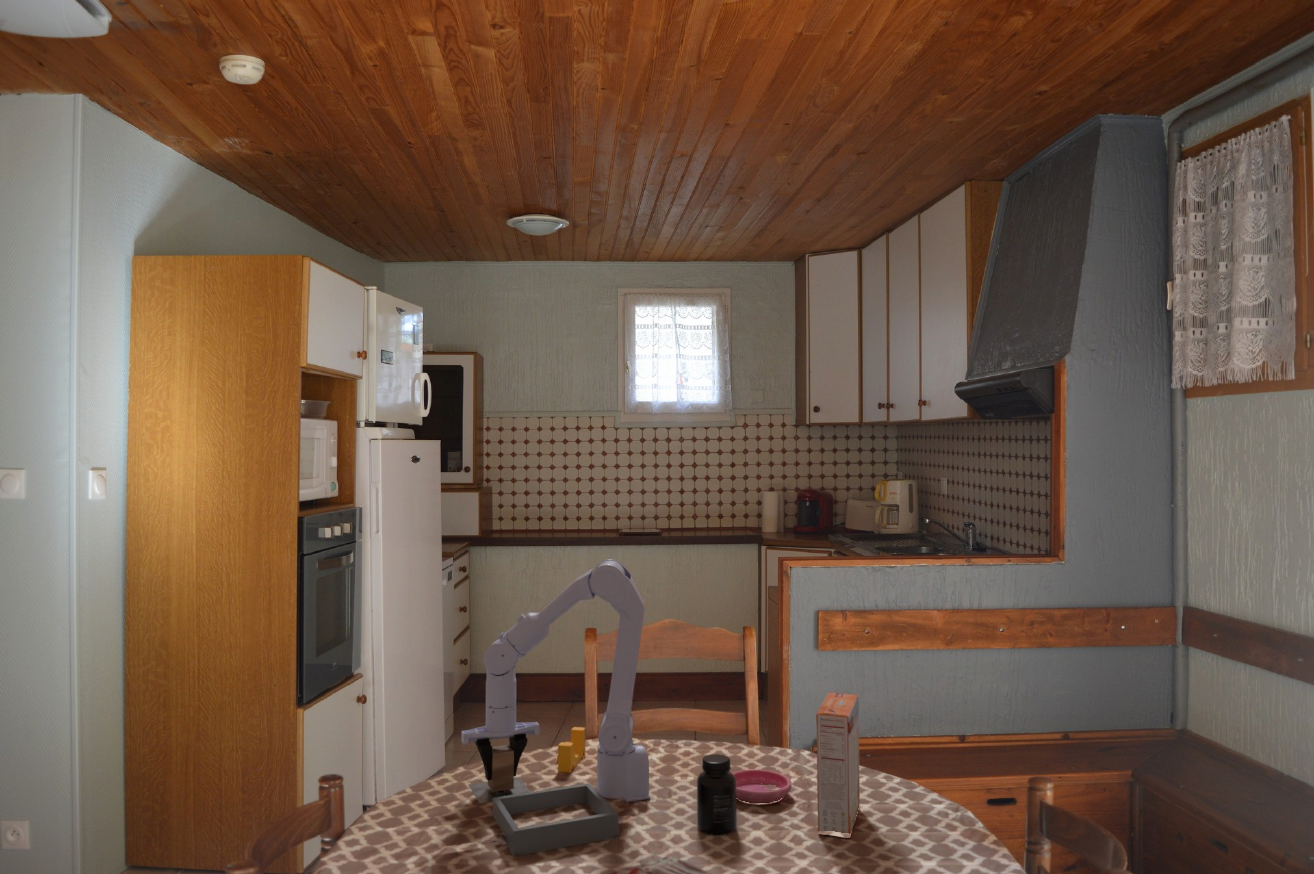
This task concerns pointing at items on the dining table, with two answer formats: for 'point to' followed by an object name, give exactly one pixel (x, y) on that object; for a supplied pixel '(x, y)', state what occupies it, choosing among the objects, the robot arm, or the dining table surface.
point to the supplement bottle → (716, 796)
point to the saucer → (751, 788)
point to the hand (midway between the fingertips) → (500, 776)
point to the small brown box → (502, 768)
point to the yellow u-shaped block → (571, 750)
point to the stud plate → (486, 794)
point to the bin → (560, 831)
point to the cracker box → (838, 762)
